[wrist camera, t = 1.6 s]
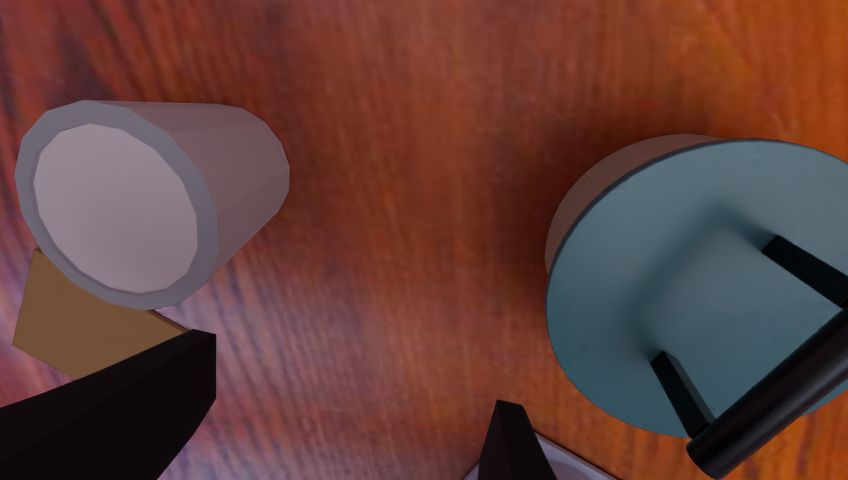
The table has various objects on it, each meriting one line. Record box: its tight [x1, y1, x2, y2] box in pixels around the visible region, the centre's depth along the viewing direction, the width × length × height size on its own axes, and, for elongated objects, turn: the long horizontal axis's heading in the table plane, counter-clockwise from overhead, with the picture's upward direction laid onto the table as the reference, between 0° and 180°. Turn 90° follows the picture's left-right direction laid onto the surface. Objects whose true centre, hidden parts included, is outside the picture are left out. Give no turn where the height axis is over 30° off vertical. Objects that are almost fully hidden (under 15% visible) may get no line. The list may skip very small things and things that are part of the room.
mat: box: [12, 248, 188, 380], centre depth 25 cm, size 9×7×1 cm
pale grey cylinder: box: [14, 100, 290, 311], centre depth 18 cm, size 7×7×7 cm
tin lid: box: [545, 138, 848, 480], centre depth 13 cm, size 11×11×6 cm
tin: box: [544, 133, 721, 275], centre depth 17 cm, size 10×10×4 cm
